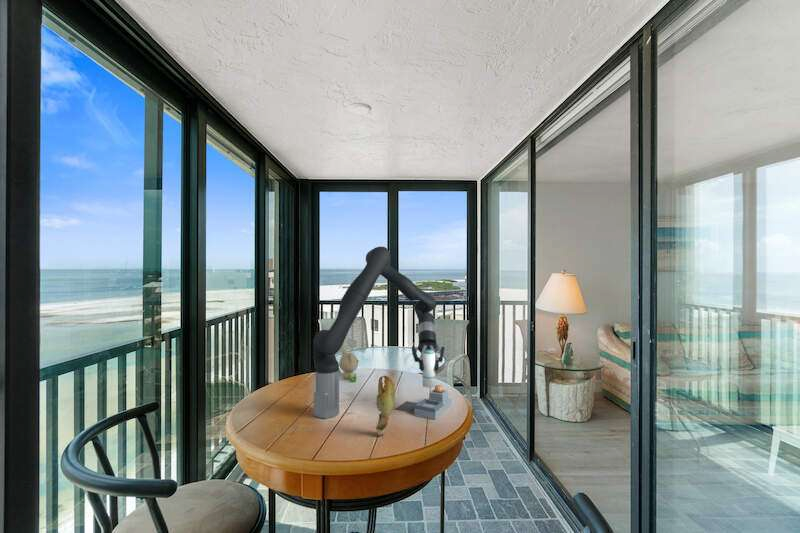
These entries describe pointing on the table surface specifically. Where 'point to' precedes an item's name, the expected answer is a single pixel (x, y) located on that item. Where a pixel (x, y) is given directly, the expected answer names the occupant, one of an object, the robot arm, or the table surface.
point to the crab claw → (384, 403)
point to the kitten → (348, 365)
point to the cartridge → (428, 368)
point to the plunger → (438, 389)
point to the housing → (433, 405)
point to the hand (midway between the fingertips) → (429, 370)
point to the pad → (407, 406)
